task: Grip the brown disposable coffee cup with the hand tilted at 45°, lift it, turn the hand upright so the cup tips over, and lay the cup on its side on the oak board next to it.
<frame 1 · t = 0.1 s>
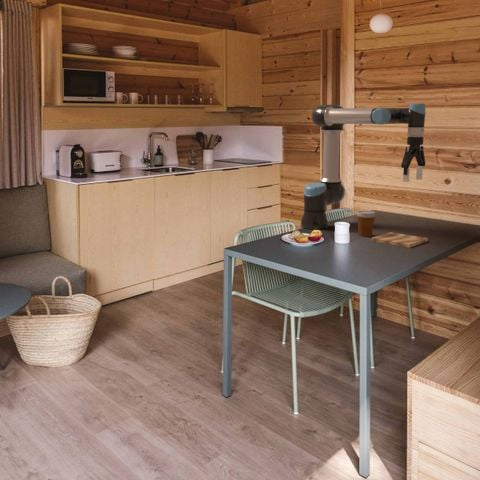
hand: (412, 180, 271), 28 cm above the table, tool pointing down, fingers open, 13 cm apart
disposable coffee cup: (365, 235, 280), on the table
oak board: (399, 241, 267), on the table
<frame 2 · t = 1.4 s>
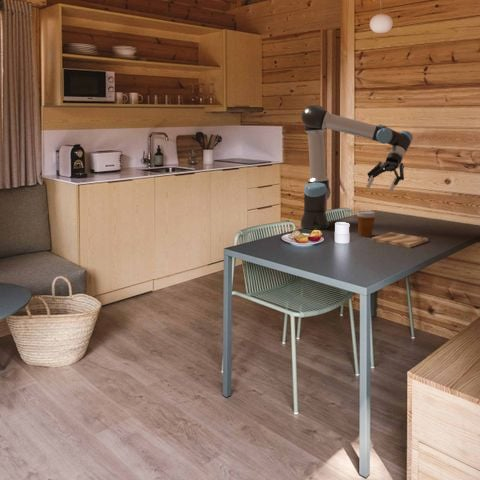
hand: (379, 188, 282), 23 cm above the table, tool tilted 45°, fingers open, 13 cm apart
nothing on the table moved.
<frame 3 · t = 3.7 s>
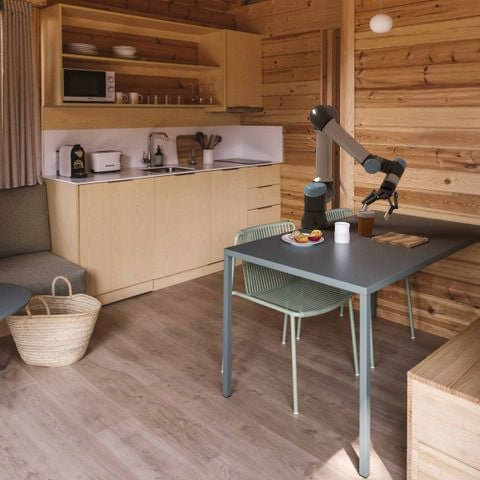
hand: (373, 217, 280), 9 cm above the table, tool tilted 45°, fingers open, 13 cm apart
nothing on the table moved.
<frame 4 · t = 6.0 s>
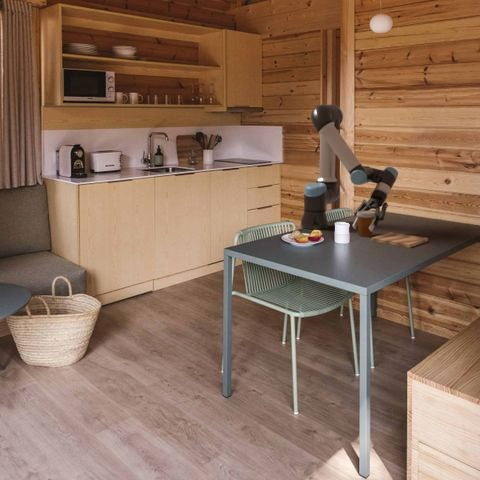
hand: (362, 228, 277), 4 cm above the table, tool tilted 45°, fingers closed on disposable coffee cup, 9 cm apart
disposable coffee cup: (365, 235, 280), on the table, touching gripper
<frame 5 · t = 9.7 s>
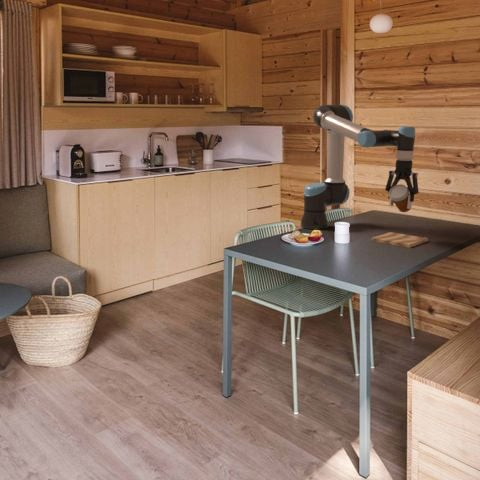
hand: (400, 207, 266), 16 cm above the table, tool pointing down, fingers closed on disposable coffee cup, 9 cm apart
disposable coffee cup: (405, 207, 270), point 15 cm above the table, touching gripper
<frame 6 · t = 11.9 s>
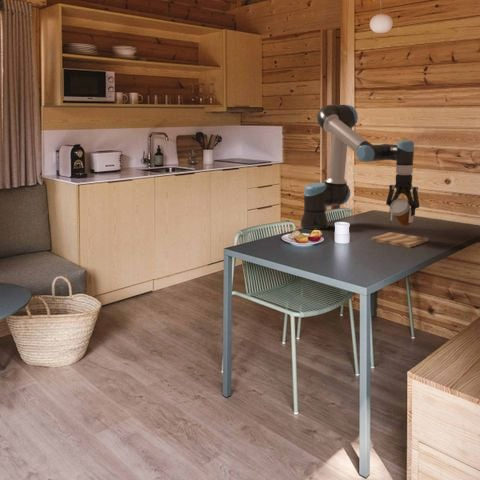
hand: (401, 221, 266), 10 cm above the table, tool pointing down, fingers closed on disposable coffee cup, 9 cm apart
disposable coffee cup: (406, 220, 269), point 9 cm above the table, touching gripper
when the fingers open (6 cm above the table, at t = 13.2 s): disposable coffee cup moves 4 cm, resting on oak board.
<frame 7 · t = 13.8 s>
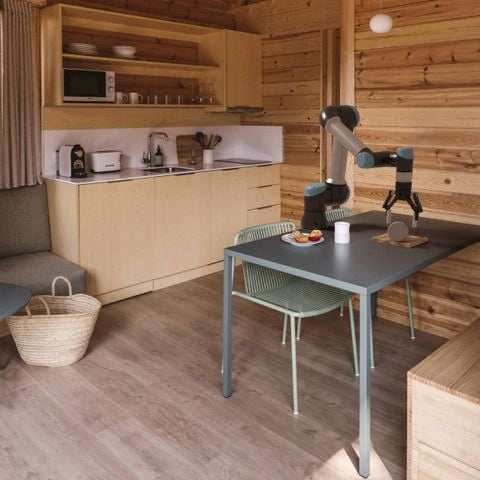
hand: (401, 225, 266), 8 cm above the table, tool pointing down, fingers open, 13 cm apart
disposable coffee cup: (400, 230, 269), point 5 cm above the table, touching oak board
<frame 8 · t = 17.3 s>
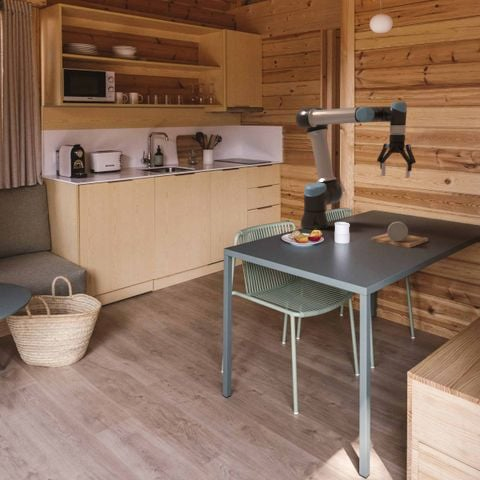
hand: (395, 176, 281), 29 cm above the table, tool pointing down, fingers open, 13 cm apart
nothing on the table moved.
at the end: disposable coffee cup tilted 82°; disposable coffee cup inside the target area on the oak board (3.3 cm from its centre), point 4.7 cm above the oak board's base; the gripper is holding nothing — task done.
